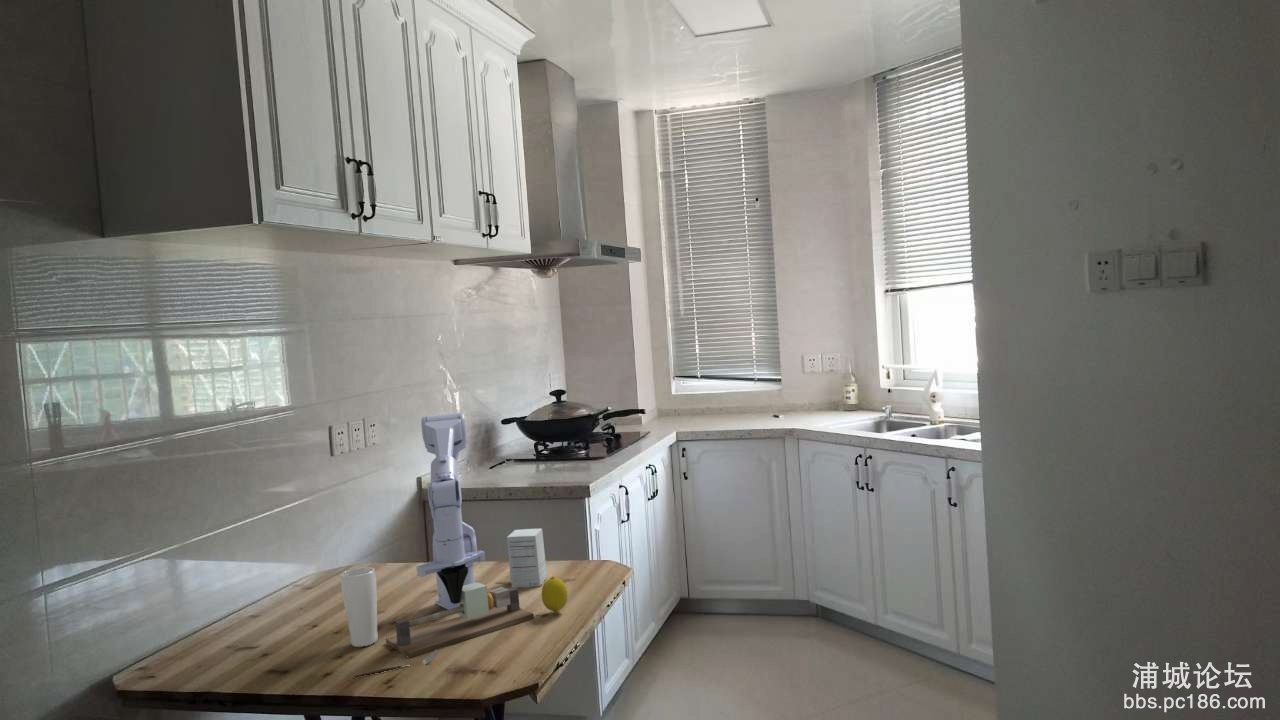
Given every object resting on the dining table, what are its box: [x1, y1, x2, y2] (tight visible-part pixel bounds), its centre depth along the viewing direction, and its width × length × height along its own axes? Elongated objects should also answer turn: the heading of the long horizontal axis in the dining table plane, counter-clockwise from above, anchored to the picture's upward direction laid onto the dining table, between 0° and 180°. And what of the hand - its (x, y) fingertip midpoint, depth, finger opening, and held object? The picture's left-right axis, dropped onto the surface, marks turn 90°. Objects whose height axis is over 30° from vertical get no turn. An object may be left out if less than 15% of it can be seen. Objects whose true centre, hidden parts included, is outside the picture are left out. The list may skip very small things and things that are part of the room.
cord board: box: [385, 586, 535, 659], centre depth 178 cm, size 12×28×6 cm, turn 128°
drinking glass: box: [340, 566, 379, 648], centre depth 176 cm, size 7×7×15 cm
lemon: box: [541, 575, 568, 614], centre depth 184 cm, size 6×6×8 cm
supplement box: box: [506, 528, 548, 589], centre depth 209 cm, size 7×7×13 cm
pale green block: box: [457, 581, 489, 619], centre depth 180 cm, size 4×5×6 cm
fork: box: [353, 649, 439, 678], centre depth 160 cm, size 3×16×2 cm, turn 112°
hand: (455, 602), depth 178 cm, fingers closed
